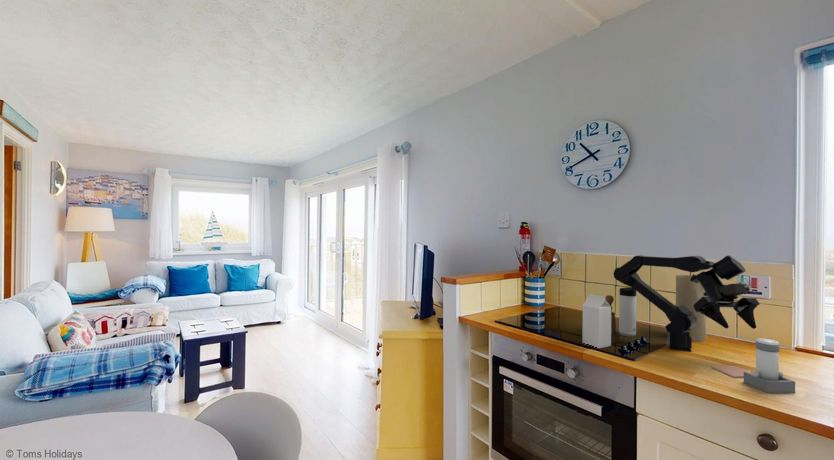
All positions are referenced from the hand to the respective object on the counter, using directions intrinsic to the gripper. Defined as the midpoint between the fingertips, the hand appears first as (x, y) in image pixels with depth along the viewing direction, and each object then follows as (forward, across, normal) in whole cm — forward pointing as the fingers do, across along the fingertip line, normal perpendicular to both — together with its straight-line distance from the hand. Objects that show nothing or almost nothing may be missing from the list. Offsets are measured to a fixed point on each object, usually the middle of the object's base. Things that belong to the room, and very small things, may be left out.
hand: (741, 328), depth 116 cm
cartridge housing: (+18, -5, -1) cm, 19 cm away
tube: (-12, +10, +32) cm, 36 cm away
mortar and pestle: (-10, -25, +32) cm, 41 cm away
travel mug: (-16, -12, +37) cm, 42 cm away
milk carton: (-7, -33, +28) cm, 44 cm away
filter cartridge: (+18, -5, -1) cm, 19 cm away
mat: (+12, -5, +7) cm, 14 cm away
